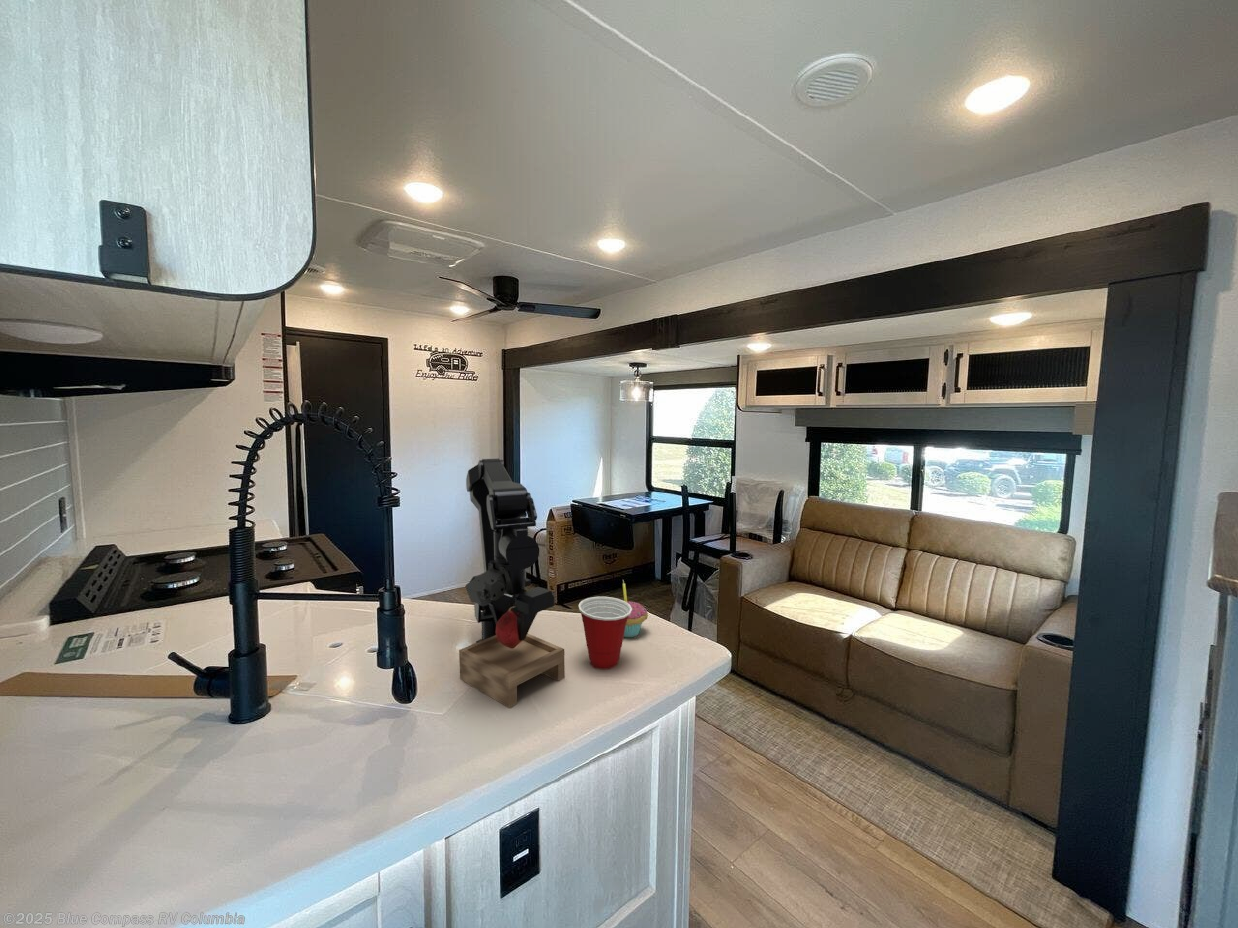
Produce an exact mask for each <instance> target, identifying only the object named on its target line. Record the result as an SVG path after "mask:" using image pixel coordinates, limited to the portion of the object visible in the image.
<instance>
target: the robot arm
mask: <svg viewBox="0 0 1238 928" xmlns="http://www.w3.org/2000/svg"><path fill="white" fill-rule="evenodd" d="M465 482H466V483H465V485H466V491H467V492H468V493H469V498H470V502H471V503H472V504H473V506H474V507H475V508H476V509H477V510H478V519H479V527H480V528H479V529H480V539H481V540H480V541H481V551H482V552H481V553H482V562H483V573H480V574H478V575H474V576H472V577H471V579H470V581H469V582H468V583H466V584H465V590H466V593H467V595H468V598H469V599H470V602H471V603H474V605H473V607H474V609H473V610H474V617H475V620H476V622H477V623H478V624H480V623H481V639H479V640H476V641H475V643H478V642H480V641H483V640H485V639H488V638H490V637H493V636H495V635H496V625H497V622H498V620H499V619H500V618H501V617H502V615H503V614H505V613H506V612H507V611H508V610H509V608H510V607H515V608H512V609H510V610H511V611H512V612H513V613H514V614H516V616H517V628H518V636H519V640H520V641H522V640H524V639H525V638H526V636H527V633H528V634H529V632H530V629H531V626H532V624H533V622H534V620H535V619H536V617H537V615H538V613H540V612H542V611H544V610H548V609H550V608H552V607H556V593H554V592H553V591H552V590H550V589H548V588H544V587H542V586H541V587H540V586H537V587H536V586H535V587H533V588H531V589H528V590H527V589H526V587H529V586H530V587H531V584H532V582H531V579H529V578H527V569H529V568H530V567H531V568H532V566H534V564H535V563H536V562H537V561H538V558H539V557H540V547H539V546H540V545H539V544H538V542H537V541H536V539H534V538H533V536H531V535H530V534H529V532H528V530H529V527H531V528H532V527H536V526H537V522H536V521H537V519H538V513H537V509H536V506H535V503H534V499H533V497H532V496H531V493H530V492H529V491H528V490H527V488H526V487H525V486H524V484H522V483H519V482H515V481H512V478H511V477H510V474H509V473H508V472H507V470H506V467H505V463H504V460H503V459H500V458H482V459H479V460H478V463H477V464H476V465H475V466H473V467H471V468H470V469H468V471H467V473H466V478H465Z"/></svg>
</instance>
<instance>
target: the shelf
mask: <svg viewBox="0 0 1238 928" xmlns="http://www.w3.org/2000/svg"><path fill="white" fill-rule="evenodd" d="M458 655H459V656H458V657H459V659H458V661H459V679H460V680H461V681H463V682H465V683H466V684H468V685H469V686H472V687H473V688H475V689H477V690H478V691H480V692H482V693H483V694H484V695H486V696H488V697H490V698H492V699H494V700H495V701H497V702H499V703H500V704H502V705H503V706H505V707H507V708H508V709H511V708H513V707H515V706H516V705H517V704H518V691H517V690H518V688H517V687H518V686H519V685H521V684H523V683H525V682H526V681H528V680H531V679H532V678H534V677H537V676H538V675H540V674H543V675H545V676H547V677H549V678H551V679H553V680H555V681H558V682H559V681H561V680H563V679H565V677H566V675H565V674H566V673H565V671H566V670H565V669H566V668H565V667H566V666H565V660H566V659H565V648H564V647H561V646H558V645H556V644H554V643H551V642H549V641H547V640H545V639H542V638H540V637H536V636H534V635H533V634H531V633H529V632H528V633H527V636H526V638H525V639H524V640H522V641H521V642H520V643H519V644H518V645H517V646H516V647H515V648H509V647H506V646H504V645H503V644H501V643H500V642H499V640H498V639H497V637H496V635H495V636H493V637H490V638H488V639H485V640H483V641H480V642H478V643H476V642H475V643H473V644H470V645H468V646H465V647H463V648H461V649H458Z"/></svg>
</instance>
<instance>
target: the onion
mask: <svg viewBox="0 0 1238 928" xmlns="http://www.w3.org/2000/svg"><path fill="white" fill-rule="evenodd" d="M512 608H515V607H510V608H509V610H508V611H507V612H506V613H505V614H503V615H502V617H501V618H500V619H499V620H498V622H497V625H496V637H497V639H498V640H499V642H500V643H501V644H503V645H504V646H506V647H509V648H515V647H516V646H517V645H518V644H519V643H520V642H521V641H520V640H519V636H518V628H517V616H516V614H514V613H513V612H512V611H511V610H510V609H512Z"/></svg>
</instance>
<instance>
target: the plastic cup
mask: <svg viewBox="0 0 1238 928" xmlns="http://www.w3.org/2000/svg"><path fill="white" fill-rule="evenodd" d="M578 610H579V612H580V614H581V615H580V616H581V618H582V624H583V630H584V637H585V643H586V647H587V652H588V657H589V658H588V659H589V662H590V665H592V667H593V668H596V669H602V670H606V669H612V668H615V667H616V666H617V665H618V663H619V660H620V657H621V650H622V646H623V642H624V638H625V637H624V631H625V626H626V622H627V619H628V616H629V615H630V613H631V611H632V608H631V606H630V604H628V603H627V602H625V601H624V599H623V600H622V599H620V598H617V597H611V596H610V597H609V596H593V597H587V598H585V599H582V600H581V601H580V602H579V604H578Z"/></svg>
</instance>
